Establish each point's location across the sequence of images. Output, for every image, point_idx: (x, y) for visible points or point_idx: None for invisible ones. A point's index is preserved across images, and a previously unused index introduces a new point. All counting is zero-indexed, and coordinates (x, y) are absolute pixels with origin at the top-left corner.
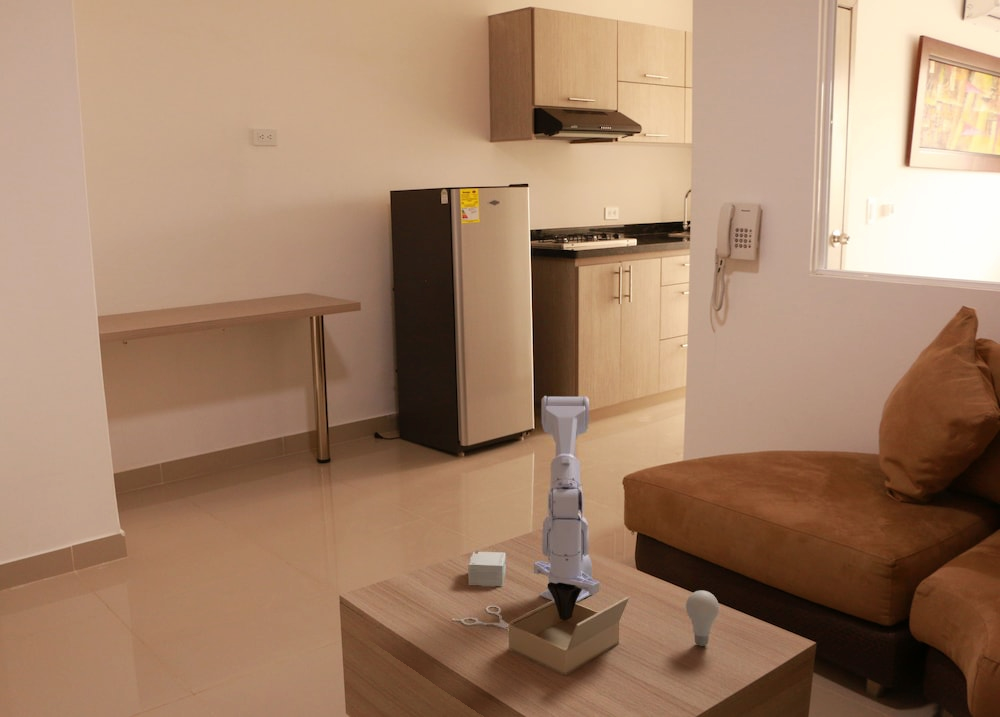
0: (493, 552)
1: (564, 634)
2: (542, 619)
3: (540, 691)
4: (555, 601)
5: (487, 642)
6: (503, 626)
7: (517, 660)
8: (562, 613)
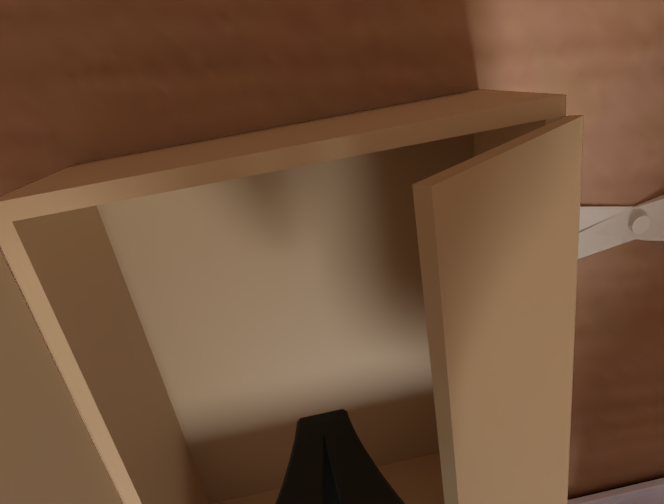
0: None
1: (391, 381)
2: None
3: None
4: (390, 501)
5: (617, 40)
6: (655, 208)
7: (361, 54)
8: (308, 449)
